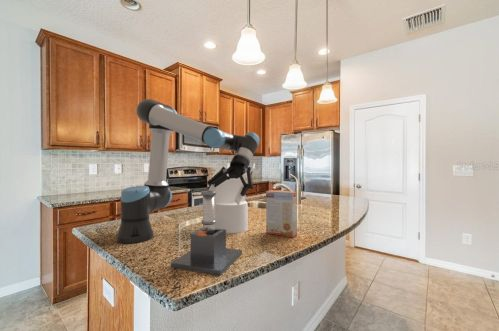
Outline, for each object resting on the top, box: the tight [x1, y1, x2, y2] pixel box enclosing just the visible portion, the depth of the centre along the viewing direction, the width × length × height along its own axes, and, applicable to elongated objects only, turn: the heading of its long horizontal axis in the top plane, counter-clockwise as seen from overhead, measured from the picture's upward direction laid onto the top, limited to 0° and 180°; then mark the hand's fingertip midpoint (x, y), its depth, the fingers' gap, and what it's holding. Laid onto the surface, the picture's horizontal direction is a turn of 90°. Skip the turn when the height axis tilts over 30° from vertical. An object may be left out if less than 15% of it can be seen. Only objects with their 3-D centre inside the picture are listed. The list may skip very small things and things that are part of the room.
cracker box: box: [265, 189, 298, 238], centre depth 113 cm, size 14×6×21 cm, turn 58°
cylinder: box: [214, 174, 249, 235], centre depth 122 cm, size 17×17×28 cm
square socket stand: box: [170, 227, 243, 276], centre depth 82 cm, size 18×18×11 cm
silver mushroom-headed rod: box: [200, 190, 216, 235], centre depth 82 cm, size 5×5×22 cm
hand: (221, 201), depth 86 cm, fingers open, 13 cm apart
